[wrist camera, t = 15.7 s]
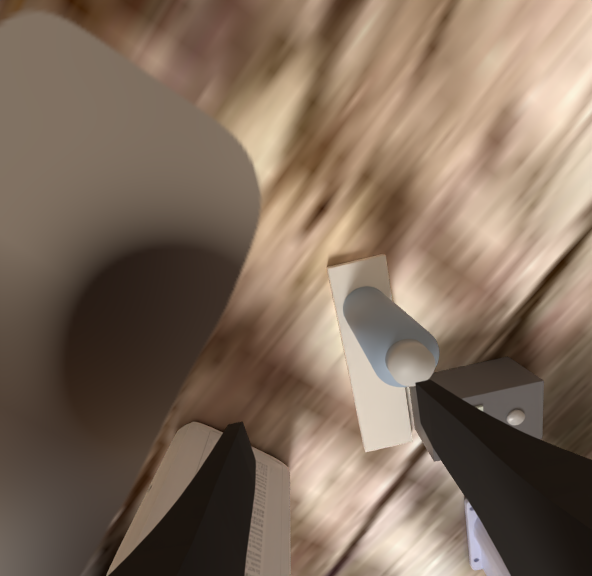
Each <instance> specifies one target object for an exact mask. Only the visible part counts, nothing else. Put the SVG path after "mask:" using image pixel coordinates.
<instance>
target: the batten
mask: <svg viewBox="0 0 592 576" xmlns="http://www.w3.org/2000/svg"><path fill="white" fill-rule="evenodd" d="M327 271H328V276H329V281H330V286H331V291H332V296H333V301H334V305H335V310H336V315H337V320H338V325H339V330H340V335H341V339H342V344H343V349H344V354H345V359H346V364H347V368H348V373H349V378H350V383H351V388H352V393H353V398H354V402H355V407H356V412H357V417H358V422H359V427H360V431H361V436H362V441H363V446H364V449H365V452H368V451H373V450H377V449H382V448H386V447H391V446H396V445H400V444H405V443H409V442H413V440H412V433H411V426H410V419H409V412H408V405H407V399H406V392H405V387H394V386H391V385H388V384H386V383H385V382H383V381H382V380H381V379H380V378H379V377H378V376H377V375H376V373H375V371H374V369H373V368H372V366H371V364H370V362H369V360H368V359H367V357H366V355H365V353H364V351H363V350H362V348H361V346H360V344H359V342H358V341H357V339H356V337H355V335H354V334H353V332H352V330H351V328H350V326H349V325H348V323H347V321H346V319H345V317H344V314H343V304H344V301H345V299H346V297H347V296H348V295H349V294H350V293H351V292H352V291H353V290H355V289H357V288H360V287H364V286H370V287H374V288H377V289H378V290H380V291H381V292H382V293H384V294H385V295H386V296H387V297H388V298H389V299H391V300H392V295H391V288H390V281H389V274H388V267H387V260H386V255H384V254H380V255H376V256H372V257H367V258H363V259H359V260H355V261H350V262H346V263H342V264H338V265H333V266H329V267H327Z"/></svg>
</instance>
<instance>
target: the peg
mask: <svg viewBox="0 0 592 576" xmlns="http://www.w3.org/2000/svg"><path fill="white" fill-rule="evenodd" d="M343 314H344V317H345V319H346V321H347V323H348V325H349V326H350V328H351V330H352V332H353V334H354V335H355V337H356V339H357V341H358V342H359V344H360V346H361V348H362V350H363V351H364V353H365V355H366V357H367V359H368V360H369V362H370V364H371V366H372V368H373V369H374V371H375V373H376V375H377V376H378V377H379V378H380V379H381V380H382V381H383V382H385V383H386V384H388V385H391V386H394V387H409V386H416V385H415V383H416V382H421V381H425V380H428V379H429V378H430V377H431V376H432V374H433V372H434V370H435V367H436V366H437V363H438V360H439V346H438V344H437V341H436V340H435V338H434V337H433V336H432V335H431V334H430V333H429V332H428V331H427V330H426V329H424V328H423V327H422V326H421V325H420V324H419V323H417V322H416V321H415V320H414V319H413V318H412V317H410V316H409V315H408V314H407V313H406V312H405V311H403V310H402V309H401V308H400V307H399V306H398V305H396V304H395V303H394V302H393V301H392V300H391V299H389V298H388V297H387V296H386V295H385V294H384V293H382V292H381V291H380V290H378V289H377V288H374V287H370V286H364V287H360V288H357V289H355V290H353V291H352V292H351V293H350V294H349V295H348V296H347V297H346V299H345V301H344V304H343Z"/></svg>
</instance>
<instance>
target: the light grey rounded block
mask: <svg viewBox="0 0 592 576" xmlns="http://www.w3.org/2000/svg"><path fill="white" fill-rule="evenodd" d="M222 434H223V432H221V431H218V430H216V429H214V428H212V427H209V426H207V425H204V424H201V423H198V422H191V423H188V424H186V425H184V426H183V427H181V428H180V429H179V430H178V431H177V433H176V434H175V436H174V438H173V440H172V442H171V444H170V446H169V448H168V450H167V452H166V454H165V456H164V458H163V460H162V462H161V464H160V466H159V468H158V470H157V472H156V474H155V476H154V478H153V480H152V482H151V484H150V487H149V489H148V491H147V493H146V495H145V497H144V499H143V501H142V503H141V505H140V507H139V509H138V511H137V513H136V515H135V517H134V519H133V521H132V523H131V525H130V527H129V529H128V531H127V533H126V535H125V537H124V539H123V541H122V543H121V545H120V547H119V549H118V551H117V553H116V556H115V558H114V560H113V562H112V564H111V566H110V568H109V571H108V573H107V575H106V576H108V575H109V574H110V573H111V572H112V571H113V570H114V569H115V568H116V567H117V566H118V565H119V564H120V563H121V562H122V561H123V560H124V559H125V558H126V557H127V556H128V555H129V554H130V553H131V552H132V551H133V550H134V549H135V548H136V547H137V546H138V545H139V544H140V543H141V541H142V540H143V539H144V538H145V537H146V536H147V535H148V534H149V533H150V532H151V531H152V530H153V529H154V527H155V526H156V525H157V524H158V523H159V522H160V520H161V519H162V518H163V517H164V516H165V514H166V513H167V512H168V511H169V510H170V508H171V507H172V506H173V505H174V503H175V502H176V501H177V500H178V498H179V497H180V496H181V494H182V493H183V492H184V490H185V489H186V488H187V486H188V485H189V483H190V482H191V481H192V479H193V478H194V476H195V475H196V474H197V472H198V471H199V469H200V468H201V466H202V465H203V463H204V462H205V460H206V459H207V457H208V456H209V454H210V452H211V451H212V449H213V448H214V446H215V445H216V443H217V441H218V440H219V438H220V437H221V435H222ZM251 447H252V446H251ZM252 450H253V453H254V456H255V459H256V483H255V495H254V502H253V510H252V518H251V525H250V533H249V540H248V548H247V555H246V565H245V576H291V557H290V472H289V468H288V467H287V466H286V465H285V464H284V463H282V462H281V461H279V460H278V459H276V458H274V457H272V456H270V455H268V454H266V453H264V452H262V451H260V450H258V449H256V448H254V447H252Z"/></svg>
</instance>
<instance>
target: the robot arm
mask: <svg viewBox="0 0 592 576" xmlns="http://www.w3.org/2000/svg"><path fill="white" fill-rule="evenodd" d="M415 385H416V393H417V400H418V408H419V415H420V423H421V425H422V427H423V429H424V431H425V433H426V435H427V437H428V439H429V441H430V443H431V445H432V447H433V449H434V450H435V452H436V453H437V455H438V456H439V458H440V459H441V461H442V462H443V464H444V465H445V467H446V469H447V470H448V472H449V473H450V475H451V476H452V478H453V479H454V481H455V482H456V484H457V485H458V487H459V488H460V490H461V491H462V493H463V494H464V496H465V497H466V499H465V501H464V503H465V514H466V526H467V537H468V549H469V560H470V565H471V567H472V569H473V570H480V569H483V570H484V572H485V573H486V575H487V576H592V460H590V459H588V458H585V457H582V456H580V455H577V454H574V453H572V452H569V451H567V450H564V449H561V448H559V447H556V446H554V445H551V444H549V443H547V442H544V441H542V440H540V439H538V438H535V437H533V436H531V435H529V434H526V433H524V432H522V431H520V430H518V429H516V428H514V427H512V426H510V425H508V424H506V423H504V422H502V421H500V420H498V419H496V418H494V417H492V416H490V415H489V414H487V413H485V412H483V411H481V410H480V409H478V408H476V407H474V406H473V405H471V404H469V403H468V402H466V401H464V400H463V399H461V398H459V397H458V396H456V395H454V394H453V393H451V392H450V391H448V390H446V389H445V388H443V387H442V386H440V385H438V384H437V383H435V382H434V381H432V380H425V381H421V382H416V383H415ZM255 483H256V459H255V456H254V453H253V450H252V447H251V444H250V441H249V439H248V436H247V433H246V430H245V427H244V424H243V422H238V423H234V424H229V425H228V426H227V428H226V429H225V431H224V432H223V434H222V435H221V437H220V438H219V440H218V441H217V443H216V445H215V446H214V448H213V449H212V451H211V452H210V454H209V456H208V457H207V459H206V460H205V462H204V463H203V465H202V466H201V468H200V469H199V471H198V472H197V474H196V475H195V476H194V478H193V479H192V481H191V482H190V483H189V485H188V486H187V488H186V489H185V490H184V492H183V493H182V494H181V496H180V497H179V498H178V500H177V501H176V502H175V503H174V505H173V506H172V507H171V508H170V510H169V511H168V512H167V513H166V514H165V516H164V517H163V518H162V519H161V520H160V522H159V523H158V524H157V525H156V526H155V527H154V529H153V530H152V531H151V532H150V533H149V534H148V535H147V536H146V537H145V538H144V539H143V540H142V541H141V543H140V544H139V545H138V546H137V547H136V548H135V549H134V550H133V551H132V552H131V553H130V554H129V555H128V556H127V557H126V558H125V559H124V560H123V561H122V562H121V563H120V564H119V565H118V566H117V567H116V568H115V569H114V570H113V571H112V572H111V573H110V574H109V575H108V576H245V565H246V555H247V548H248V540H249V533H250V525H251V518H252V510H253V502H254V495H255Z"/></svg>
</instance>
